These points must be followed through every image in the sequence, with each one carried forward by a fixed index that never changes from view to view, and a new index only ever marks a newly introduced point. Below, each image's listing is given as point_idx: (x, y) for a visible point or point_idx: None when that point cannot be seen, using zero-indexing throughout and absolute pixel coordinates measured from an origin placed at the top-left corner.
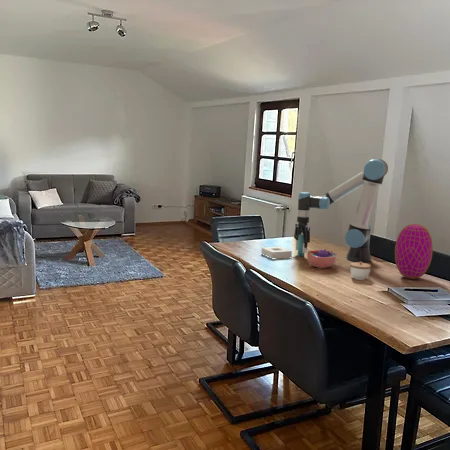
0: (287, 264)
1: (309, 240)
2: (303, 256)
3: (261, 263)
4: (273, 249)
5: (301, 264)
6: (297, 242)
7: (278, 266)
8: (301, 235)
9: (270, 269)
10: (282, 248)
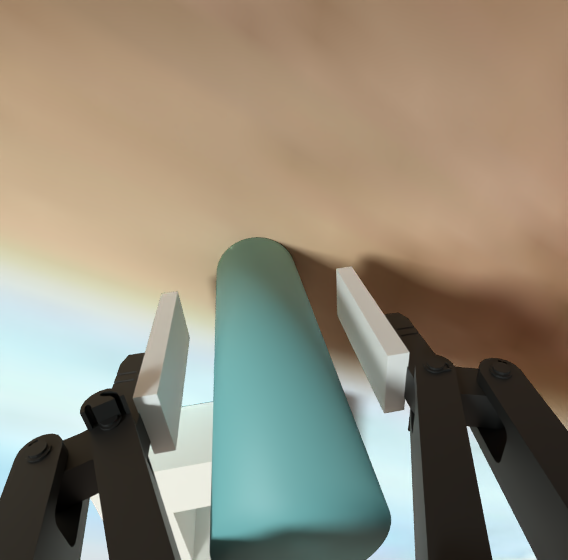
0: (480, 454)
1: (530, 393)
2: (292, 258)
3: (397, 556)
4: (186, 532)
5: (528, 377)
6: (174, 405)
7: (493, 502)
8: (364, 556)
9: (521, 537)
10: (195, 485)
